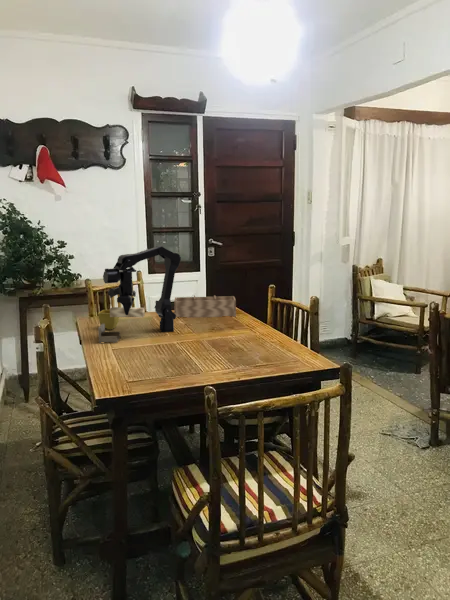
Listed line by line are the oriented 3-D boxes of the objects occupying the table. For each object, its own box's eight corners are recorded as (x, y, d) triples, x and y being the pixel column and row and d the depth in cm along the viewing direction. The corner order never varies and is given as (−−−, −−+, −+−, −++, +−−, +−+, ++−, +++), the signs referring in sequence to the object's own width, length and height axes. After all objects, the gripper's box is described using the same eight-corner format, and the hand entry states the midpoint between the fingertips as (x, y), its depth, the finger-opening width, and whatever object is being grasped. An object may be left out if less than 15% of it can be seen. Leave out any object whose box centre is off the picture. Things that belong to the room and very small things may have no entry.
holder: (234, 311, 292) (233, 294, 290) (235, 316, 280) (235, 298, 278) (175, 313, 290) (174, 295, 288) (174, 317, 278) (174, 299, 276)
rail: (144, 315, 235) (144, 307, 235) (142, 317, 232) (142, 309, 231) (112, 315, 237) (112, 307, 236) (110, 316, 233) (109, 308, 233)
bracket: (120, 337, 235) (119, 323, 234) (117, 342, 225) (116, 328, 224) (102, 337, 235) (102, 323, 233) (98, 343, 225) (98, 328, 223)
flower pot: (120, 326, 257) (119, 309, 255) (115, 330, 248) (114, 313, 247) (104, 326, 258) (103, 309, 256) (98, 330, 249) (97, 313, 248)
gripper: (112, 279, 240) (113, 310, 243) (105, 284, 222) (106, 318, 225) (135, 279, 241) (136, 310, 244) (129, 284, 222) (131, 318, 225)
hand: (127, 314), depth 234 cm, fingers closed on rail, 4 cm apart
